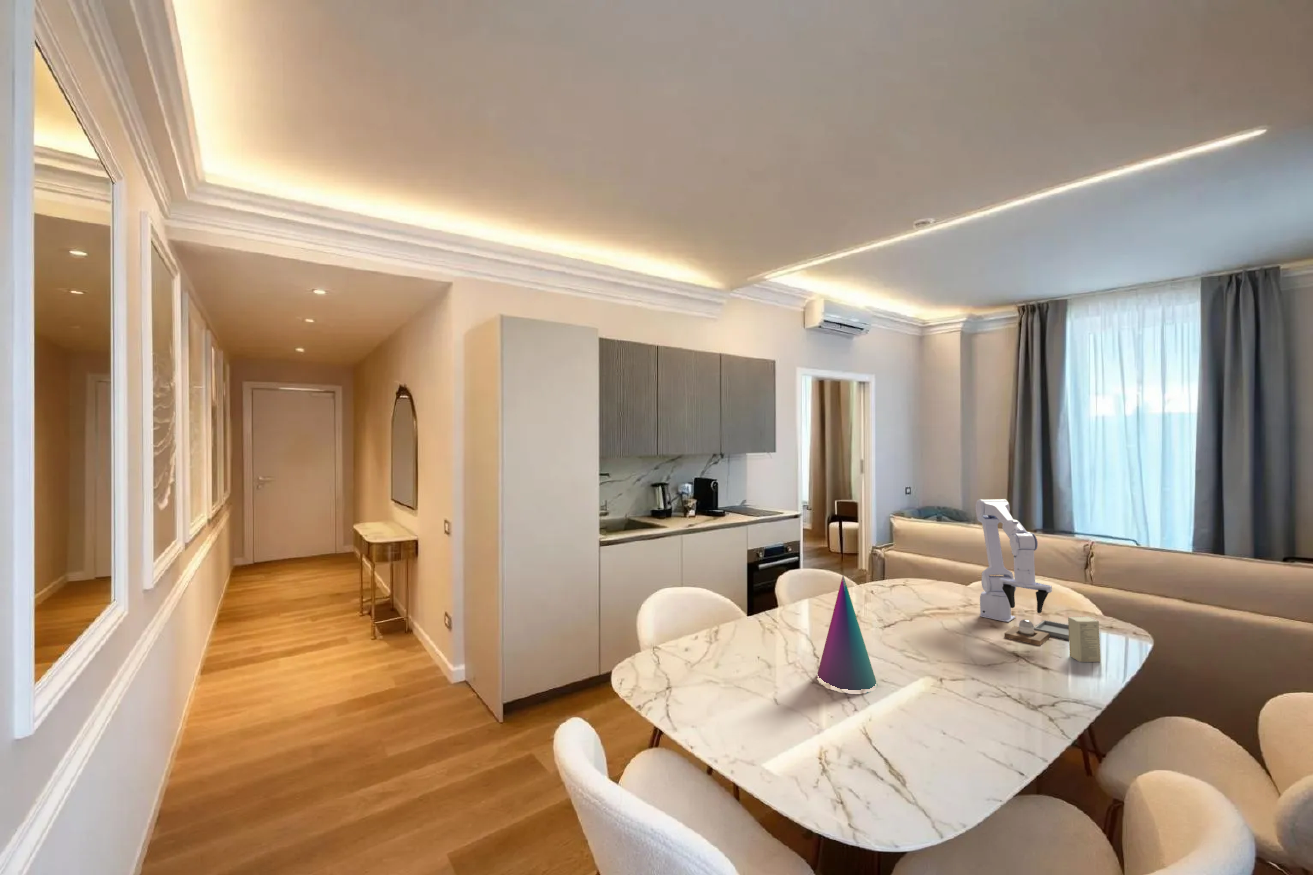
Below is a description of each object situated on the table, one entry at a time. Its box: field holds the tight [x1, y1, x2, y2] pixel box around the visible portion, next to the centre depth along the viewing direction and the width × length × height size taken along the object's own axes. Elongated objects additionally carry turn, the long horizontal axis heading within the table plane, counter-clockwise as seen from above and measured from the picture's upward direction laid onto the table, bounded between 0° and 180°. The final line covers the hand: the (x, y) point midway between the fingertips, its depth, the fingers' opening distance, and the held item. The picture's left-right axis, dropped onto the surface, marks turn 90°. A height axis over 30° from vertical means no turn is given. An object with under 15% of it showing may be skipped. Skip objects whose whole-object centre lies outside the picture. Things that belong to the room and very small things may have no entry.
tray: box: [1034, 619, 1069, 641], centre depth 181 cm, size 12×12×2 cm
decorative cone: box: [817, 574, 877, 690], centre depth 148 cm, size 16×16×30 cm
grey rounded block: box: [1018, 619, 1035, 637], centre depth 177 cm, size 4×4×6 cm
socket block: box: [1003, 625, 1050, 646], centre depth 177 cm, size 10×10×2 cm
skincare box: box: [1067, 616, 1101, 663], centre depth 159 cm, size 6×4×12 cm
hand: (1025, 609), depth 177 cm, fingers open, 7 cm apart
